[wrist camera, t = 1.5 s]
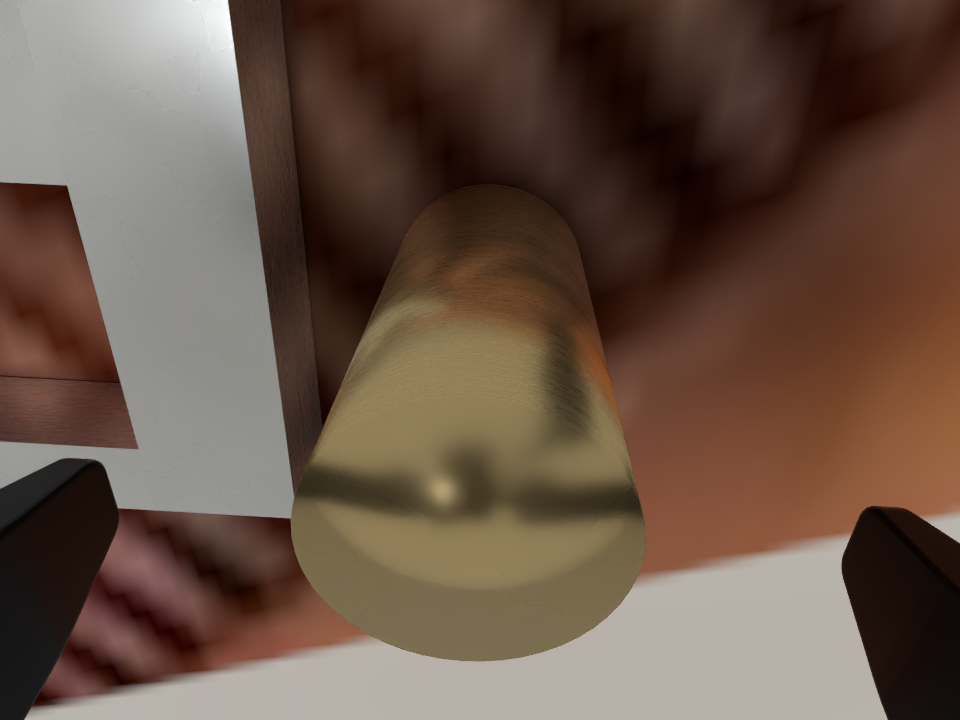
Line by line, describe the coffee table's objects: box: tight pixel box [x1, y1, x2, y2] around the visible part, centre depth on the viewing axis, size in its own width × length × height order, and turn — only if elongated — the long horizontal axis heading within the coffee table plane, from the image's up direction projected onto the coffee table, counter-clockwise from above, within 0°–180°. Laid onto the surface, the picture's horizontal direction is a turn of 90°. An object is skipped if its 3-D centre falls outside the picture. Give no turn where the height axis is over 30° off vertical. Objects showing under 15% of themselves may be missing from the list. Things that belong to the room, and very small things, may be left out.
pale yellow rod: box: [291, 184, 646, 661], centre depth 11 cm, size 4×4×8 cm
